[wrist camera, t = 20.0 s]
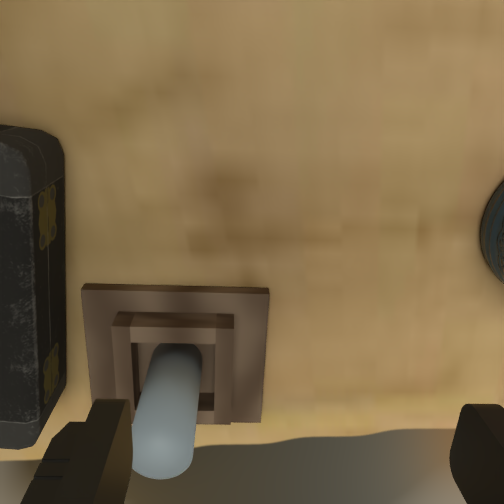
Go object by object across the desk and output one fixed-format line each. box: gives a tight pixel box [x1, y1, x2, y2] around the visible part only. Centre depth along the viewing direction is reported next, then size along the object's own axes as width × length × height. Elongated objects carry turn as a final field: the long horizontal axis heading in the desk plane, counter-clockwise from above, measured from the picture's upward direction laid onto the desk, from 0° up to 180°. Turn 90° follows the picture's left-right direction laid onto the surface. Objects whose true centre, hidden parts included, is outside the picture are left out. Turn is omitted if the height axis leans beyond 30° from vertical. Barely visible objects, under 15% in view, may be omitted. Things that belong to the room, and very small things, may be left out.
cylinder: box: [132, 343, 202, 479], centre depth 37 cm, size 5×5×11 cm
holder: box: [81, 284, 269, 425], centre depth 41 cm, size 16×14×4 cm
